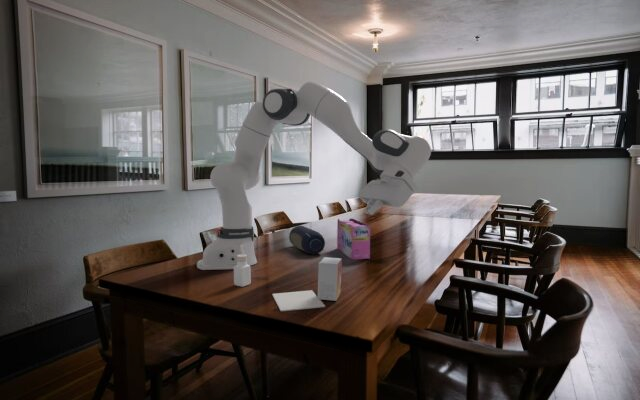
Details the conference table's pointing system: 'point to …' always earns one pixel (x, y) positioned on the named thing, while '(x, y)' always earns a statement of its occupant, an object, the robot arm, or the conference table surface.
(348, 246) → the gum box
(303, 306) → the mat
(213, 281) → the conference table surface
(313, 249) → the portable speaker
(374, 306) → the conference table surface
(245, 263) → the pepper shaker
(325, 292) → the small box
